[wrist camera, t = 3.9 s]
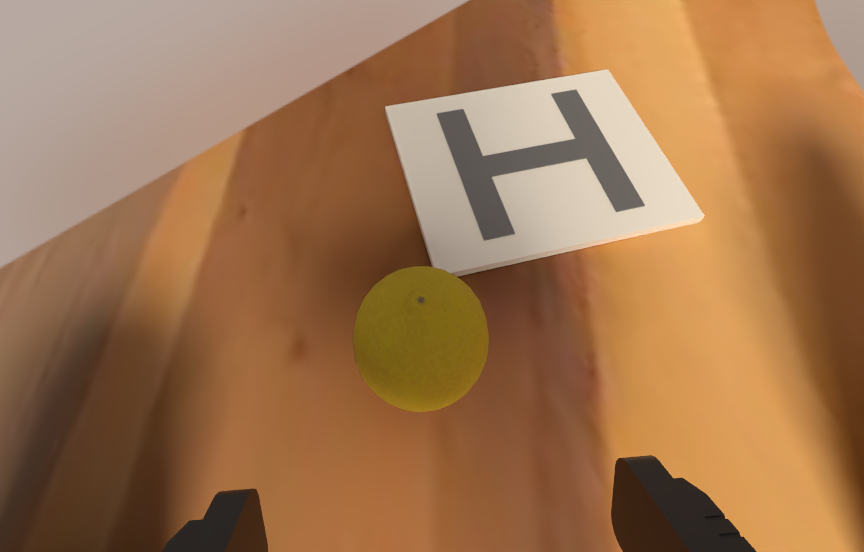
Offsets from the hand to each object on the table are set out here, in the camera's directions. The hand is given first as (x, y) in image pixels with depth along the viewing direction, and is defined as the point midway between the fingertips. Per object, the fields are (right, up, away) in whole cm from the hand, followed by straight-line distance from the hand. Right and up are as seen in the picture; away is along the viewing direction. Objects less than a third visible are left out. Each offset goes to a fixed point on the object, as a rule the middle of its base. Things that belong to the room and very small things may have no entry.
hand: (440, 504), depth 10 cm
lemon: (-1, 0, +12) cm, 12 cm away
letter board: (+6, +12, +19) cm, 23 cm away
